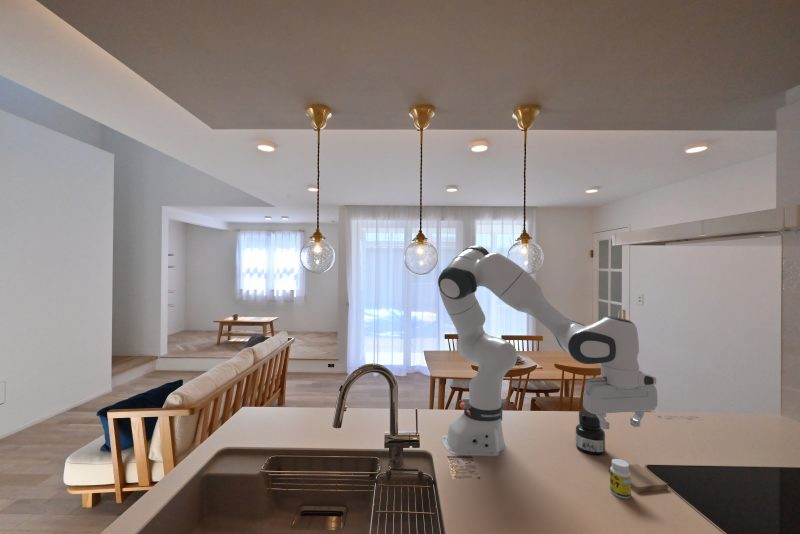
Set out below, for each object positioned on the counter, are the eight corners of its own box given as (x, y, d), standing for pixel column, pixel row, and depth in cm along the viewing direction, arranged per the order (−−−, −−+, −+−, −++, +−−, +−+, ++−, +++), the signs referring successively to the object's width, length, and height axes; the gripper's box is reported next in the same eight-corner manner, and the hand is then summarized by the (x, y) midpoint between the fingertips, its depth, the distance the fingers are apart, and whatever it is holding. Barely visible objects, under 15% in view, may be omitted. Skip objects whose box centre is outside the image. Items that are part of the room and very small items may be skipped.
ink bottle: (571, 449, 116) (571, 413, 117) (577, 439, 123) (577, 406, 123) (603, 459, 110) (603, 422, 110) (608, 448, 117) (608, 413, 117)
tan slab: (636, 494, 93) (636, 487, 93) (608, 473, 103) (608, 466, 103) (667, 491, 95) (667, 484, 95) (637, 470, 105) (637, 464, 105)
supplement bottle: (606, 488, 95) (606, 458, 95) (622, 487, 95) (621, 457, 96) (618, 499, 90) (618, 467, 90) (635, 498, 91) (635, 467, 91)
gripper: (593, 381, 88) (594, 435, 88) (662, 378, 91) (662, 429, 91) (577, 374, 95) (577, 424, 94) (642, 371, 98) (642, 419, 97)
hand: (620, 427), depth 93 cm, fingers open, 8 cm apart
